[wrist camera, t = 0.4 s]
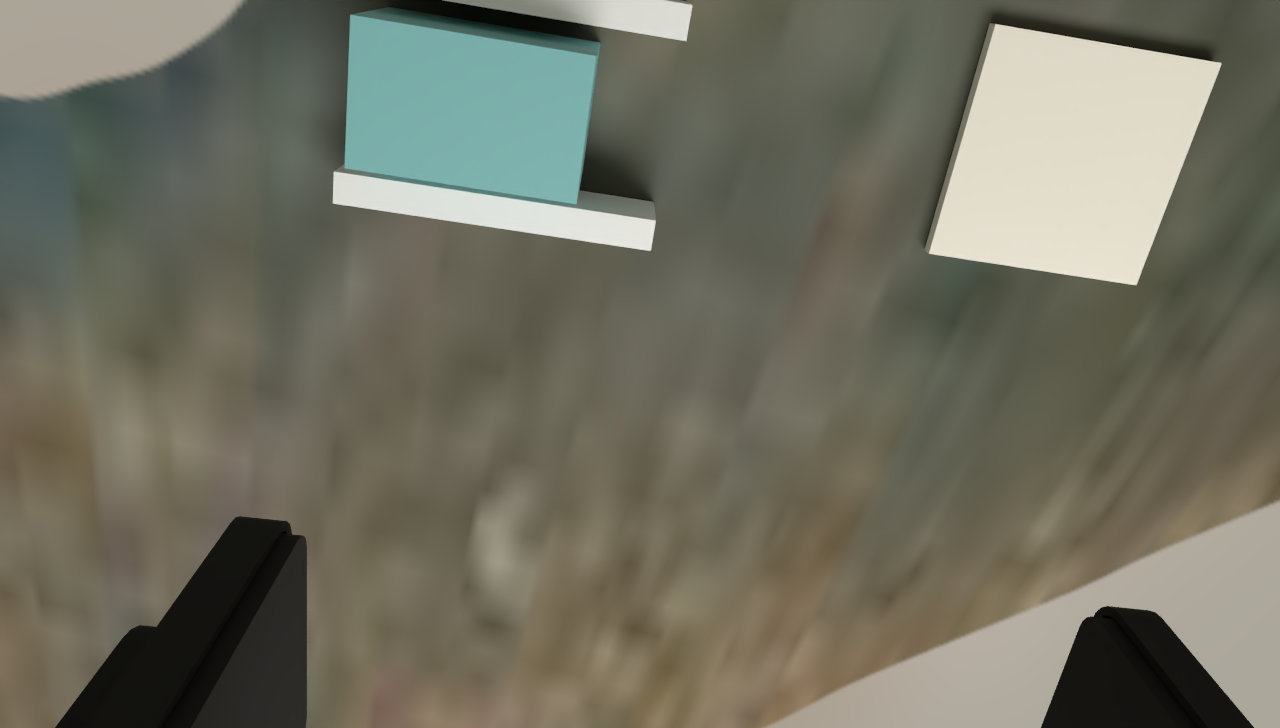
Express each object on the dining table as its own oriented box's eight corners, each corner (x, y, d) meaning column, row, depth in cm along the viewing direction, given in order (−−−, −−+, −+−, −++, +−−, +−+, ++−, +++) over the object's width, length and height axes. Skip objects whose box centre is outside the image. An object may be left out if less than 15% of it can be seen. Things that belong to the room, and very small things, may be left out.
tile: (989, 23, 36) (995, 24, 35) (1212, 61, 36) (1221, 63, 36) (924, 249, 39) (928, 253, 39) (1129, 280, 40) (1136, 285, 39)
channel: (363, -54, 34) (340, -55, 31) (687, 1, 35) (692, 4, 32) (354, 185, 38) (332, 203, 35) (648, 230, 39) (650, 250, 36)
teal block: (389, 6, 35) (350, 14, 30) (600, 42, 36) (596, 55, 31) (382, 139, 37) (344, 168, 32) (582, 171, 38) (576, 204, 33)
